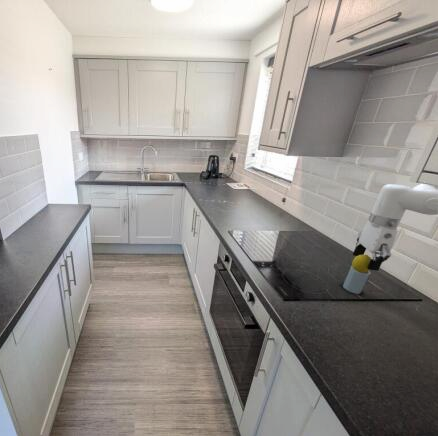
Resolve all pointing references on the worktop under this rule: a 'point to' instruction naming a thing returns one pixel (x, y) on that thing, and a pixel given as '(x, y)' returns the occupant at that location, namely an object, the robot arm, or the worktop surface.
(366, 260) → the lemon
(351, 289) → the cup
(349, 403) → the worktop surface
